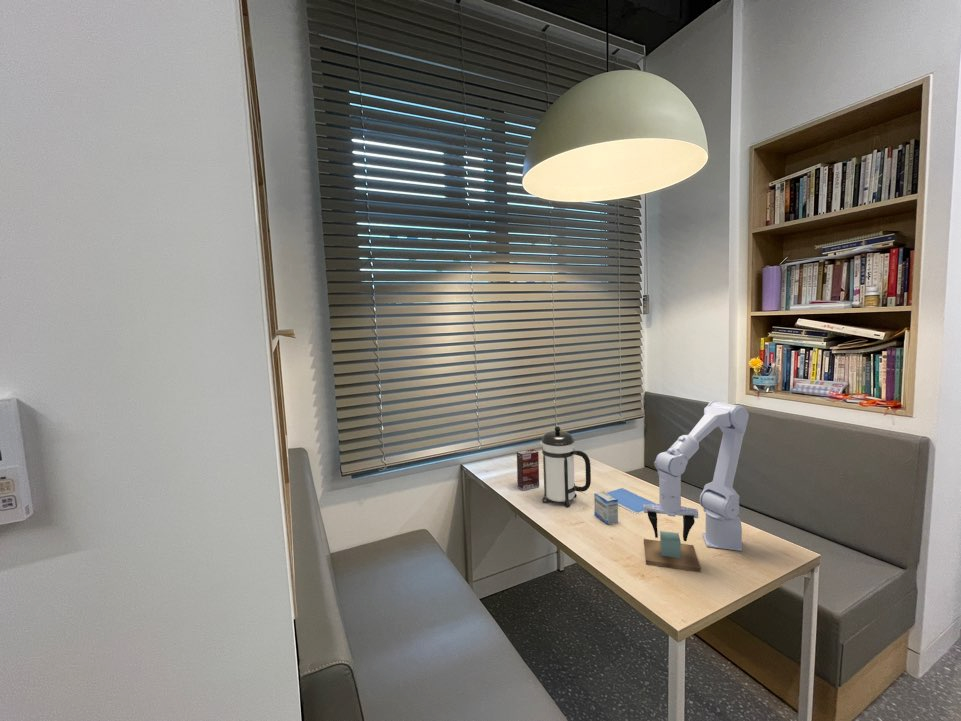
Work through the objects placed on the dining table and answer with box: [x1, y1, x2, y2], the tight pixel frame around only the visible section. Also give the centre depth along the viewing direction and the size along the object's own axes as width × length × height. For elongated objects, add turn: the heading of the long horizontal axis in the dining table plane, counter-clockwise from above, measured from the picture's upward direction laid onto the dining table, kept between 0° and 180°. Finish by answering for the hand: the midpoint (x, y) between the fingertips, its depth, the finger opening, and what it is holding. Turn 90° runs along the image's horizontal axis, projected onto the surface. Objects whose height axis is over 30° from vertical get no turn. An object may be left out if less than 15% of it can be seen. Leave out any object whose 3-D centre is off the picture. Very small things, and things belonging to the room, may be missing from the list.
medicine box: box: [593, 490, 619, 525], centre depth 143 cm, size 8×4×9 cm, turn 21°
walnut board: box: [643, 538, 701, 573], centre depth 119 cm, size 14×12×1 cm
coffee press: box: [538, 426, 592, 508], centre depth 159 cm, size 17×16×30 cm
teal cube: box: [659, 530, 682, 558], centre depth 119 cm, size 5×5×5 cm
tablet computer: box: [606, 487, 657, 515], centre depth 157 cm, size 19×13×1 cm, turn 27°
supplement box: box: [516, 449, 540, 492], centre depth 174 cm, size 9×5×16 cm, turn 114°
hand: (670, 537), depth 119 cm, fingers open, 7 cm apart
